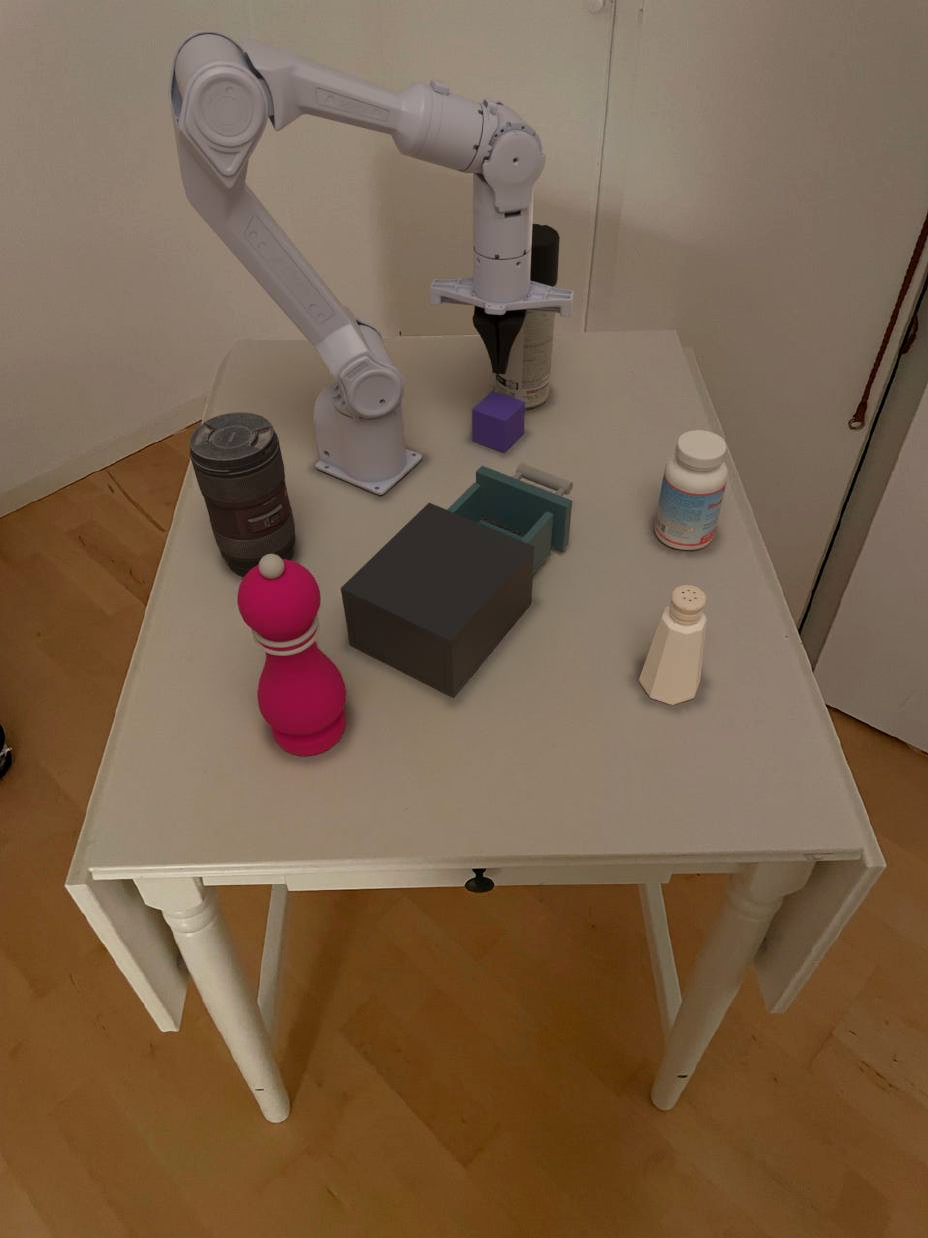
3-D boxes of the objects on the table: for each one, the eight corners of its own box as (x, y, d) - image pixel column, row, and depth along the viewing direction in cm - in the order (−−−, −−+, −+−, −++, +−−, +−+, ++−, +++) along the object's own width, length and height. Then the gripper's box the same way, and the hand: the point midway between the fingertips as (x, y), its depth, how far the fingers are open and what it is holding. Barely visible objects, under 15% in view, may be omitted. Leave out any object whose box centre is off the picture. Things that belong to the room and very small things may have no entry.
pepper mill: (280, 773, 76) (231, 606, 61) (257, 709, 80) (206, 540, 65) (363, 744, 77) (334, 574, 63) (336, 683, 82) (304, 512, 67)
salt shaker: (635, 658, 83) (651, 571, 75) (695, 659, 83) (718, 572, 75) (641, 705, 80) (659, 619, 72) (704, 706, 79) (729, 620, 71)
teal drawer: (504, 486, 99) (504, 442, 95) (589, 519, 95) (594, 475, 91) (413, 579, 89) (410, 535, 85) (504, 621, 86) (505, 577, 81)
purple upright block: (472, 441, 106) (471, 409, 103) (492, 422, 109) (492, 390, 105) (504, 453, 105) (505, 421, 101) (524, 433, 107) (525, 401, 104)
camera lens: (306, 529, 96) (283, 408, 85) (294, 584, 91) (268, 462, 80) (229, 529, 96) (197, 408, 85) (213, 583, 91) (176, 462, 80)
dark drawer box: (432, 560, 93) (429, 502, 87) (531, 604, 88) (534, 545, 83) (349, 645, 85) (340, 588, 79) (453, 698, 81) (451, 641, 75)
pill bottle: (712, 556, 92) (735, 466, 84) (651, 548, 93) (667, 459, 85) (714, 517, 96) (735, 428, 88) (655, 510, 97) (671, 422, 89)
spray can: (498, 378, 115) (500, 219, 100) (552, 381, 114) (562, 222, 100) (492, 408, 111) (493, 246, 96) (548, 412, 110) (558, 249, 95)
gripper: (420, 259, 88) (426, 382, 98) (570, 271, 86) (561, 396, 96) (437, 227, 92) (441, 347, 102) (580, 238, 90) (570, 360, 100)
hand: (500, 368), depth 99 cm, fingers closed
